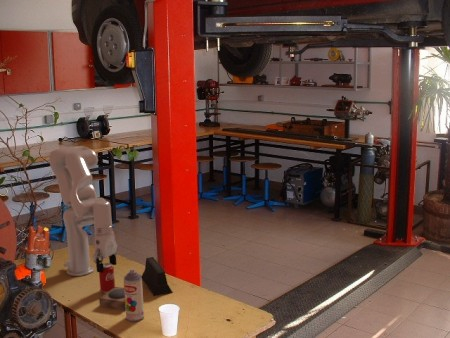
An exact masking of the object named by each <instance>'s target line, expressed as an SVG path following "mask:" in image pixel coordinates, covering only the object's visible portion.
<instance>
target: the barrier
mask: <svg viewBox="0 0 450 338" xmlns="http://www.w3.org/2000/svg"><path fill="white" fill-rule="evenodd" d="M144 268H145V269H144V270H143V273H142V274H141V278H142V282H143V283H144V284H145V286H146V287H147V288H148V290H149V291H150V293H151V294H152V295H153V297H159V296H163V295H170V294H173V293H174V292H173V291H172V288H171V287H170V286H169V284H168V280H167V274H166V271H165V270H164V268H163V267H162V266H161V265H160V263H159V262H158V261H157V259H155V258H154V256H153V257H152V256H151V257H146V259H145V266H144Z"/></svg>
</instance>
